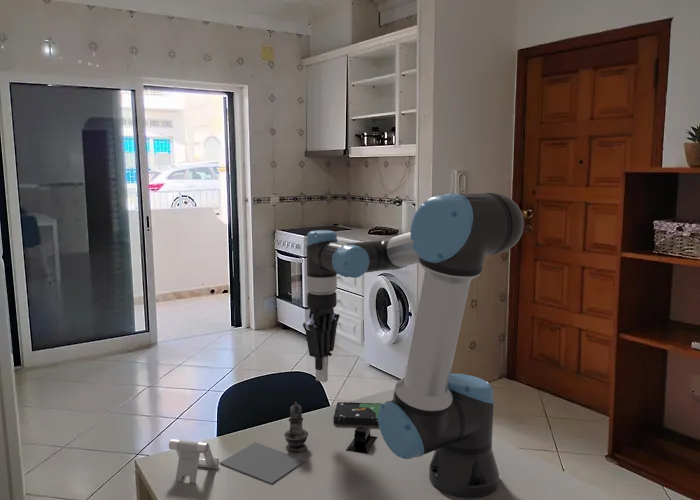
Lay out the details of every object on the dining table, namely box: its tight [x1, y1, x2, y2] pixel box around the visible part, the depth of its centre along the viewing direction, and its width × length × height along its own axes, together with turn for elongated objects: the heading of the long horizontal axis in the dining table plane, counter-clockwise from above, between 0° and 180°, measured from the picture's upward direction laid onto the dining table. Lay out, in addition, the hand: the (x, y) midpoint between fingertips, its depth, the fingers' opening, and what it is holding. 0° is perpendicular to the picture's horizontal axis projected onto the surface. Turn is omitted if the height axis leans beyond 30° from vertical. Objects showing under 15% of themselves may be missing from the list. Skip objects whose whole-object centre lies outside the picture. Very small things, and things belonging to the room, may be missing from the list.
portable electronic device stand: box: [168, 438, 220, 484], centre depth 129 cm, size 9×8×8 cm
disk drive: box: [332, 401, 383, 427], centre depth 158 cm, size 10×3×15 cm
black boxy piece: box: [345, 425, 378, 455], centre depth 143 cm, size 12×7×5 cm, turn 161°
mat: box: [219, 442, 307, 485], centre depth 134 cm, size 16×12×1 cm
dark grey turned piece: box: [283, 401, 309, 454], centre depth 140 cm, size 6×6×12 cm
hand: (321, 380), depth 148 cm, fingers closed
